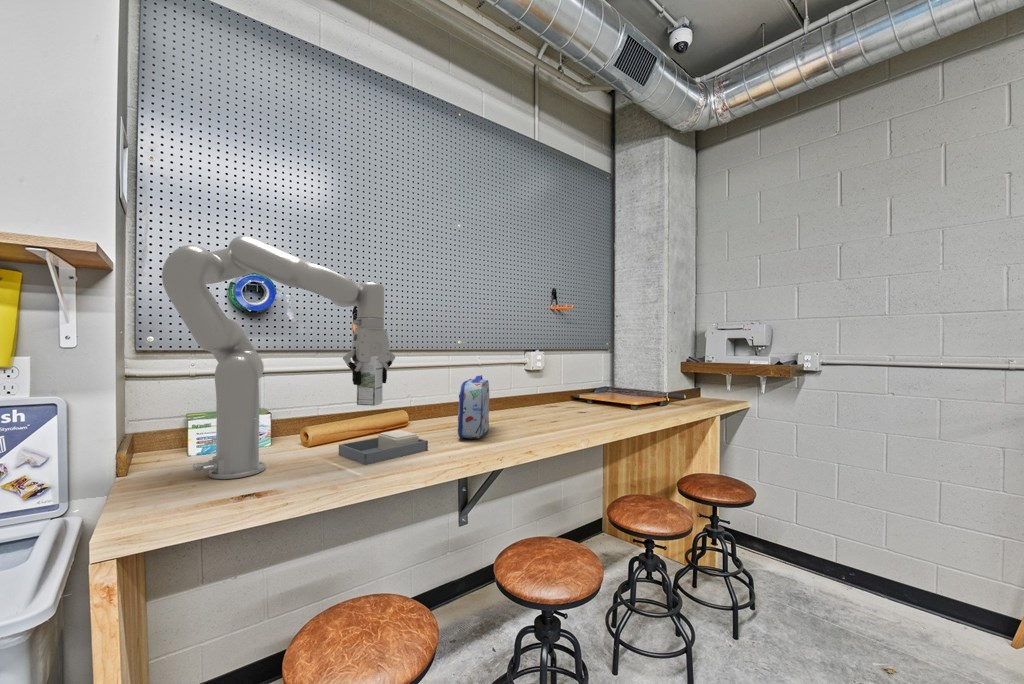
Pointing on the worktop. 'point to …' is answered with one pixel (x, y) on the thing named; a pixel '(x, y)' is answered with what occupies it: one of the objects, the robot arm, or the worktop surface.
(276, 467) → the worktop surface
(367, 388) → the syrup box
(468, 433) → the lunch box
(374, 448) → the tray
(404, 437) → the white lidded box
